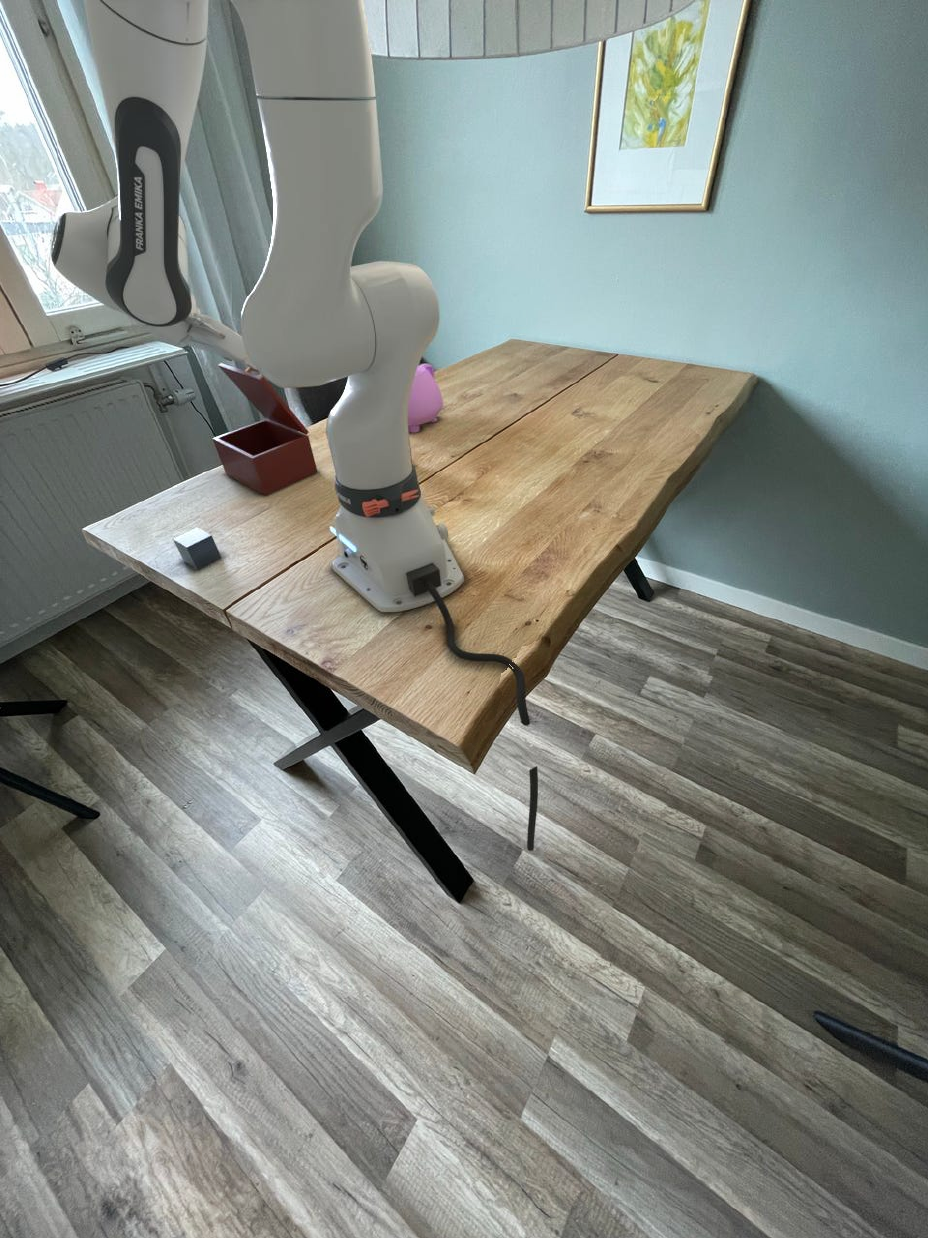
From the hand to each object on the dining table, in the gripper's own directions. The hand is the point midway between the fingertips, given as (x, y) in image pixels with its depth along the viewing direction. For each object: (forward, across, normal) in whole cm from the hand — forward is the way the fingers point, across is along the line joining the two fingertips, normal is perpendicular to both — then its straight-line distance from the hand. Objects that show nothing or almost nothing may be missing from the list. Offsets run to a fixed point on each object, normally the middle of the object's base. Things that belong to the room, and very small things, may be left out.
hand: (244, 361), depth 96 cm
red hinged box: (+14, 0, +16) cm, 22 cm away
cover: (+6, 0, +4) cm, 8 cm away
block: (-3, -19, +34) cm, 39 cm away
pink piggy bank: (+39, -5, -8) cm, 40 cm away
